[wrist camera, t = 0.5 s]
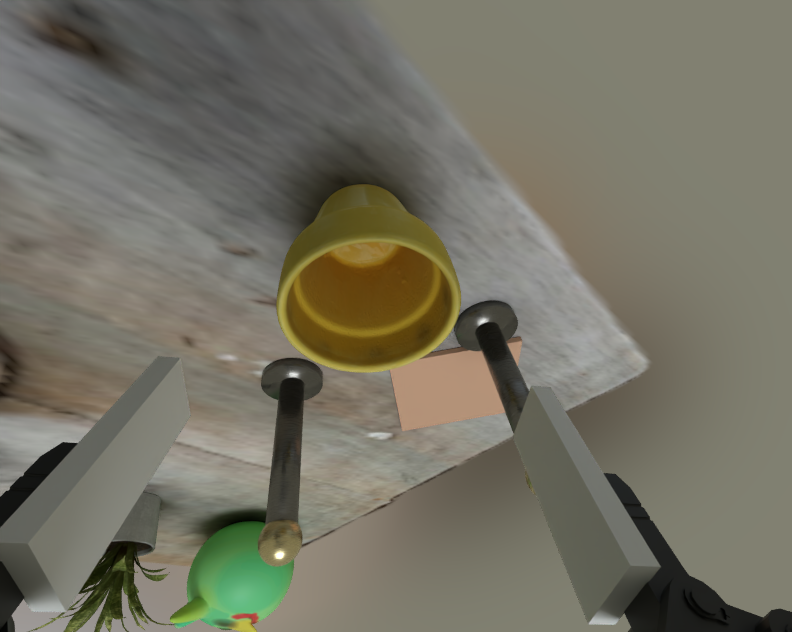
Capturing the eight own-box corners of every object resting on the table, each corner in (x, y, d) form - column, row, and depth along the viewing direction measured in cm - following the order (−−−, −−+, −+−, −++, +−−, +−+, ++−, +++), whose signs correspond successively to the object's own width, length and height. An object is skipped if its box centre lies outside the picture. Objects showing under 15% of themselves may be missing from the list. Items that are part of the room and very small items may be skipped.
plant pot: (261, 239, 28) (239, 336, 21) (344, 119, 23) (352, 194, 16) (372, 299, 33) (384, 392, 26) (457, 213, 28) (500, 299, 21)
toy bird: (288, 541, 74) (282, 638, 63) (192, 545, 68) (168, 652, 58) (303, 504, 62) (299, 616, 52) (190, 506, 57) (160, 630, 47)
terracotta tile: (388, 360, 39) (388, 364, 39) (520, 336, 39) (522, 340, 39) (401, 426, 49) (402, 431, 49) (507, 407, 49) (508, 411, 49)
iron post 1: (253, 364, 37) (218, 563, 25) (313, 353, 37) (308, 546, 25) (274, 398, 41) (252, 581, 29) (328, 388, 41) (329, 567, 29)
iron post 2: (454, 306, 35) (520, 491, 23) (517, 295, 35) (616, 474, 23) (454, 348, 39) (510, 522, 27) (510, 338, 39) (591, 507, 27)
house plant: (198, 474, 51) (161, 630, 39) (209, 513, 60) (181, 649, 48) (73, 478, 47) (-10, 651, 35) (104, 518, 56) (47, 667, 44)
